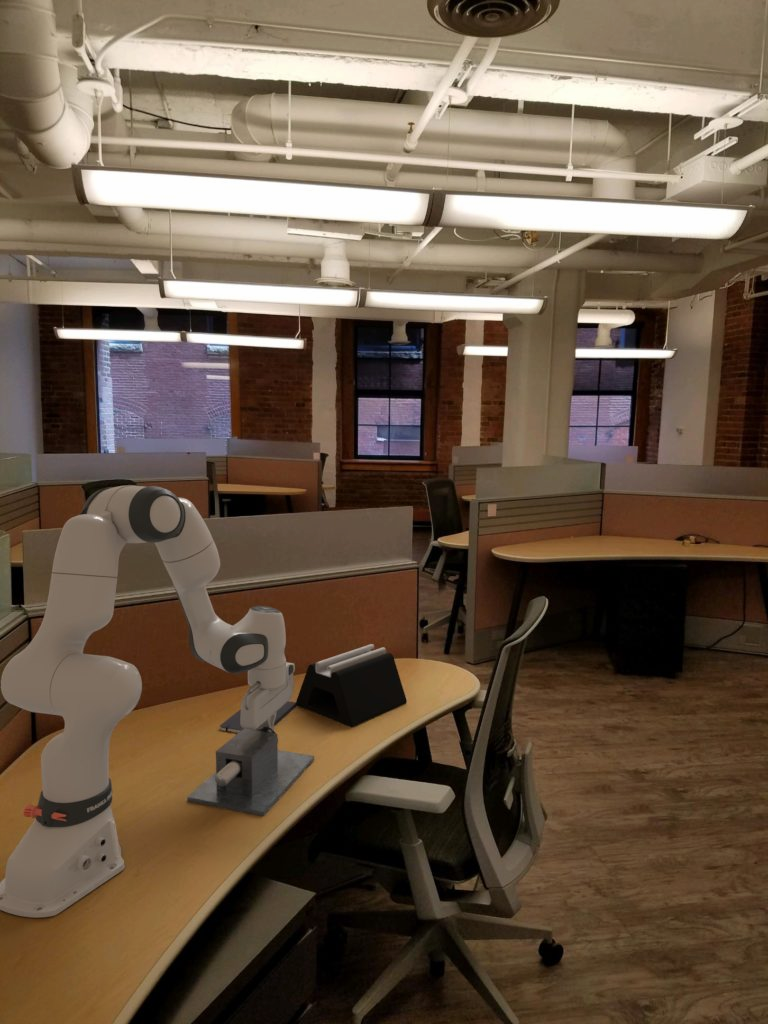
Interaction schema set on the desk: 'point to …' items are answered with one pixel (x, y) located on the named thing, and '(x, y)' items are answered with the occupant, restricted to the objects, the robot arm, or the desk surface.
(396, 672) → the device stand
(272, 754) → the bearing housing
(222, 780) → the shaft
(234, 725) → the paper product
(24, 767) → the desk surface
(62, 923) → the desk surface
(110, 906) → the desk surface
